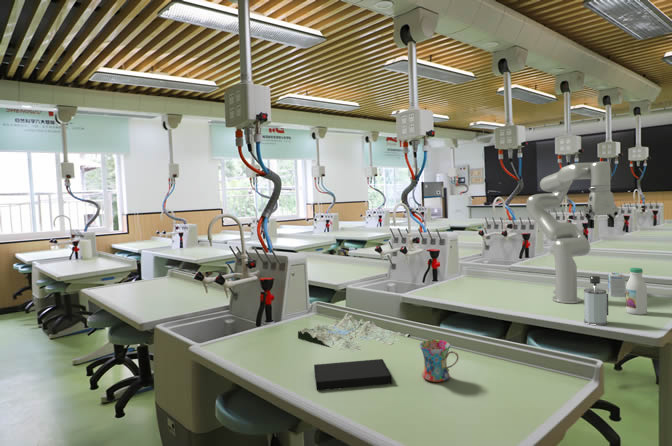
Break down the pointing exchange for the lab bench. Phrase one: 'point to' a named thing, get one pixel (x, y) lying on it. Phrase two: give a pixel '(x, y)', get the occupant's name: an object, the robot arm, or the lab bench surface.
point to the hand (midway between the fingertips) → (600, 227)
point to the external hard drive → (352, 374)
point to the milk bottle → (636, 293)
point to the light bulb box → (616, 284)
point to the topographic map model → (347, 333)
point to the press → (595, 306)
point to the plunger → (595, 281)
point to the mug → (436, 360)
